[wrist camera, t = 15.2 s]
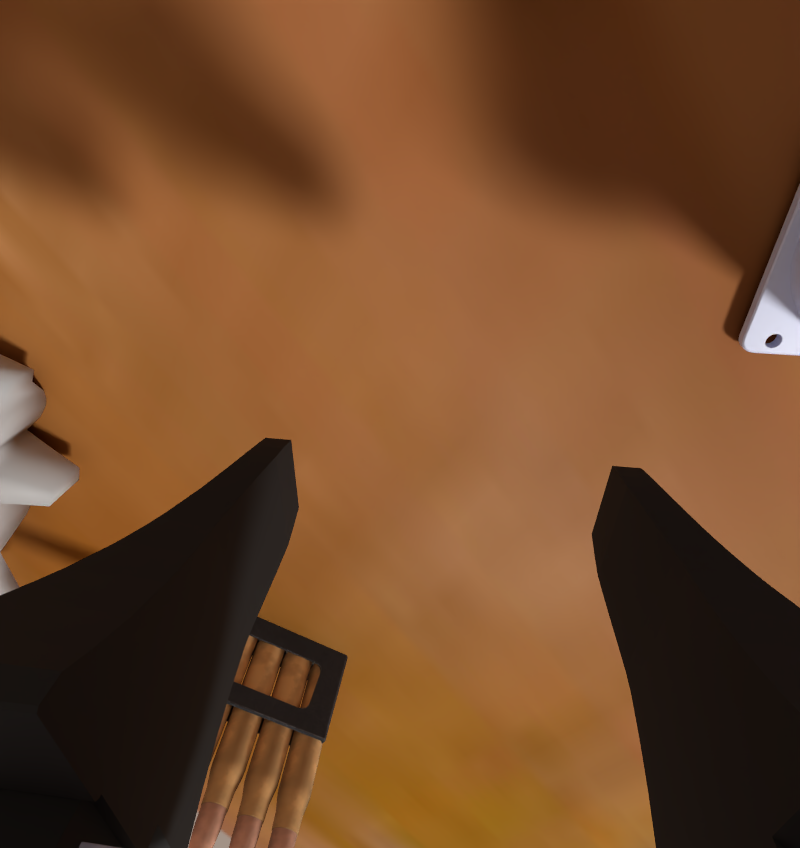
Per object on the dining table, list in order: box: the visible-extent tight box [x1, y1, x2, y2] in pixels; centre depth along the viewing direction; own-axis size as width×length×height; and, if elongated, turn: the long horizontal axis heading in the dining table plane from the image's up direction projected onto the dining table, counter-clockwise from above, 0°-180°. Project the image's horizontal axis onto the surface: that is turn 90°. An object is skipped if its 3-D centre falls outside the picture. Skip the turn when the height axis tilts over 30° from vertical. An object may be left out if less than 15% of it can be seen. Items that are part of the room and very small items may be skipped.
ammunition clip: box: [189, 617, 347, 848], centre depth 27 cm, size 11×2×12 cm, turn 61°
